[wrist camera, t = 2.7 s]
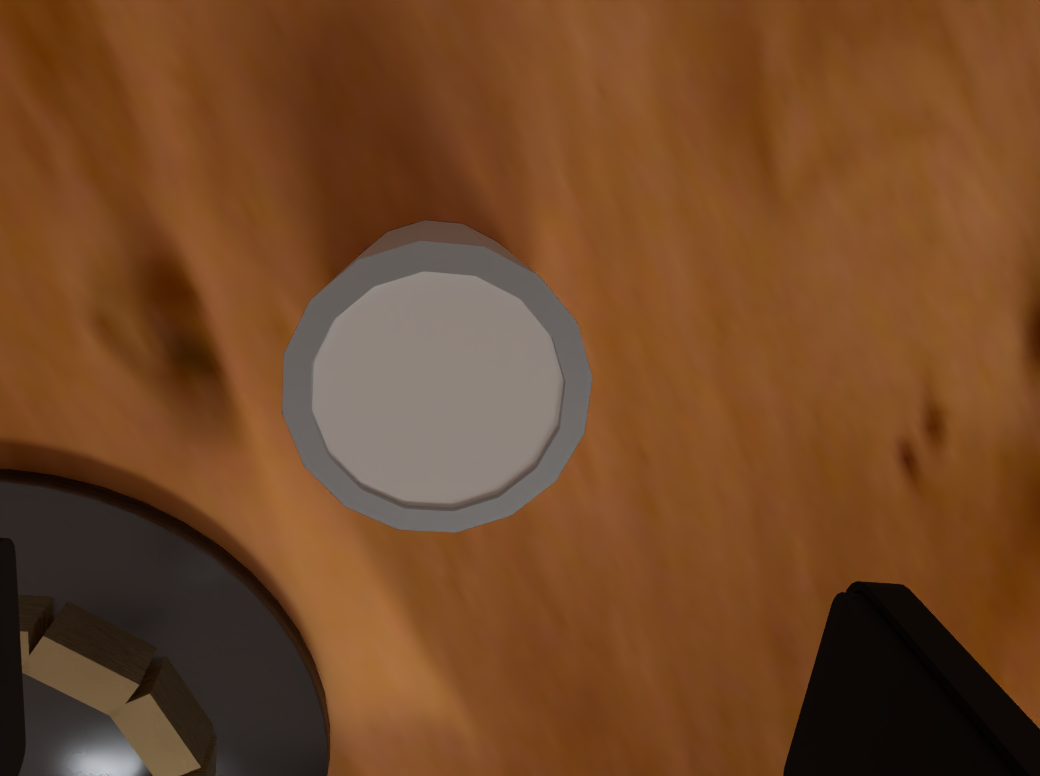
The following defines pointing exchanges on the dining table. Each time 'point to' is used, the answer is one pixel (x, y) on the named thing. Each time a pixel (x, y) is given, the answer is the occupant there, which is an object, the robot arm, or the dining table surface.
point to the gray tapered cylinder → (436, 381)
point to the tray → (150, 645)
